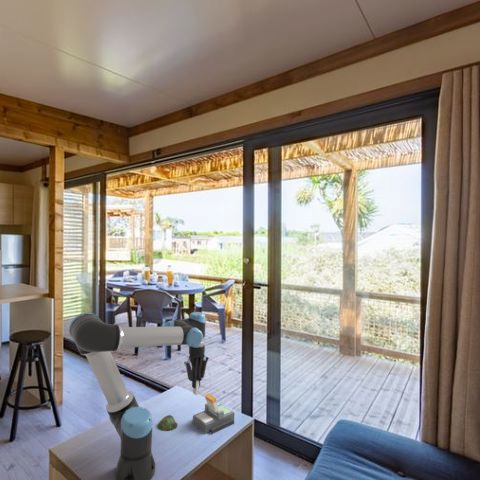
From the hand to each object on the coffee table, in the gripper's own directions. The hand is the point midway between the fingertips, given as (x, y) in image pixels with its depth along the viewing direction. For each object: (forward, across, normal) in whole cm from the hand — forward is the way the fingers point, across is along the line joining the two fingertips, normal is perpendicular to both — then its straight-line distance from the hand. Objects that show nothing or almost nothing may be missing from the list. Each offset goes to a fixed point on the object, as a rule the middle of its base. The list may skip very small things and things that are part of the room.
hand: (195, 393), depth 161 cm
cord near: (+18, +12, -7) cm, 22 cm away
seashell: (+18, -8, +12) cm, 23 cm away
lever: (+13, +12, 0) cm, 18 cm away
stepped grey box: (+18, +12, 0) cm, 21 cm away
